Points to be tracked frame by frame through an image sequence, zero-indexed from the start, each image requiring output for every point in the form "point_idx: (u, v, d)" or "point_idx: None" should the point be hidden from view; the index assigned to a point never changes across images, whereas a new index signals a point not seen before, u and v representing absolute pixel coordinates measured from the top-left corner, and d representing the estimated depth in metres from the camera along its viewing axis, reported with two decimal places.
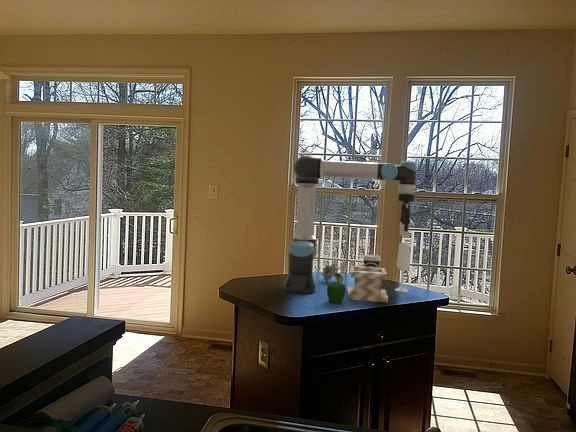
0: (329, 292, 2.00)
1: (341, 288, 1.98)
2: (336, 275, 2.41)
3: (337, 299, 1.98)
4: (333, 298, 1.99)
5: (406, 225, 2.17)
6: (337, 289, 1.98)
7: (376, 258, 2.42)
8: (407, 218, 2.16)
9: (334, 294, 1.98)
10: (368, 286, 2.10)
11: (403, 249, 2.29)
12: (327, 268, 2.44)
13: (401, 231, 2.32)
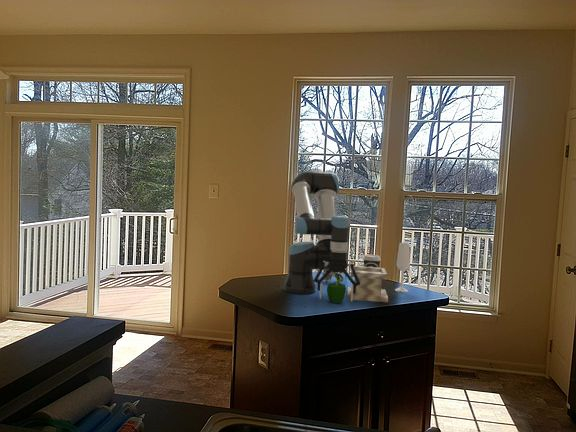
0: (329, 292, 2.00)
1: (341, 288, 1.98)
2: (336, 275, 2.41)
3: (337, 299, 1.98)
4: (333, 298, 1.99)
5: None
6: (337, 289, 1.98)
7: (376, 258, 2.42)
8: None
9: (334, 294, 1.98)
10: (368, 286, 2.10)
11: (403, 249, 2.29)
12: None
13: None
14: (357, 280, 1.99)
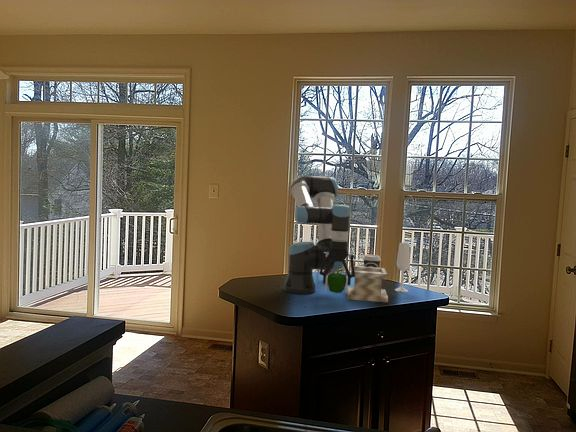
0: (330, 282, 2.00)
1: (342, 278, 1.99)
2: None
3: (338, 289, 1.99)
4: (334, 288, 1.99)
5: (323, 276, 2.03)
6: (338, 279, 1.98)
7: (376, 258, 2.42)
8: (320, 269, 2.02)
9: (335, 284, 1.98)
10: (368, 286, 2.10)
11: (403, 249, 2.29)
12: None
13: None
14: (353, 272, 1.99)
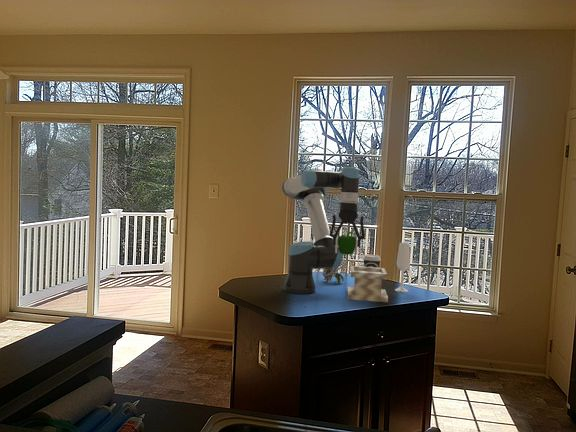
0: (340, 243, 2.02)
1: (351, 239, 2.00)
2: (336, 275, 2.41)
3: (347, 250, 2.00)
4: (343, 249, 2.01)
5: (333, 238, 2.04)
6: (347, 240, 2.00)
7: (376, 258, 2.42)
8: (330, 231, 2.04)
9: (344, 245, 2.00)
10: (368, 286, 2.10)
11: (403, 249, 2.29)
12: None
13: None
14: (362, 233, 2.01)
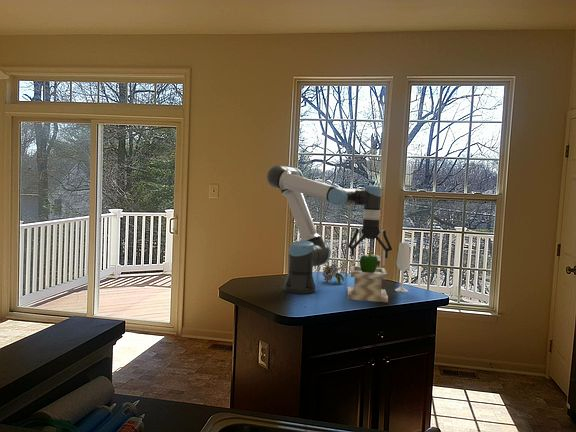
0: (362, 263, 2.13)
1: (374, 259, 2.12)
2: (337, 275, 2.41)
3: (370, 270, 2.12)
4: (366, 269, 2.12)
5: (351, 249, 2.16)
6: (370, 260, 2.11)
7: None
8: None
9: (367, 265, 2.11)
10: (368, 286, 2.10)
11: (403, 249, 2.29)
12: None
13: None
14: (389, 246, 2.12)
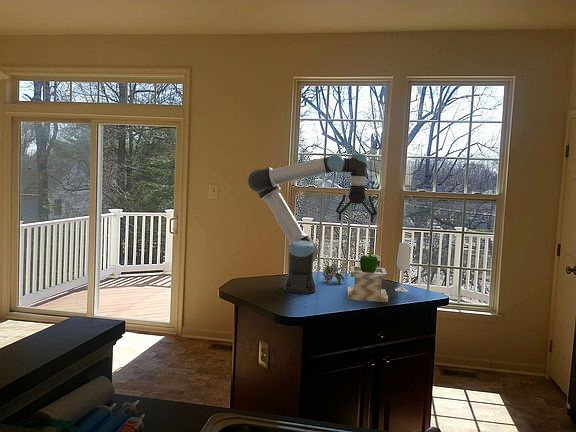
0: (362, 263, 2.13)
1: (374, 259, 2.12)
2: (337, 275, 2.40)
3: (370, 270, 2.12)
4: (366, 269, 2.12)
5: None
6: (370, 260, 2.11)
7: None
8: None
9: (367, 265, 2.11)
10: (368, 286, 2.10)
11: (403, 249, 2.29)
12: None
13: (368, 224, 2.27)
14: (374, 210, 2.25)
